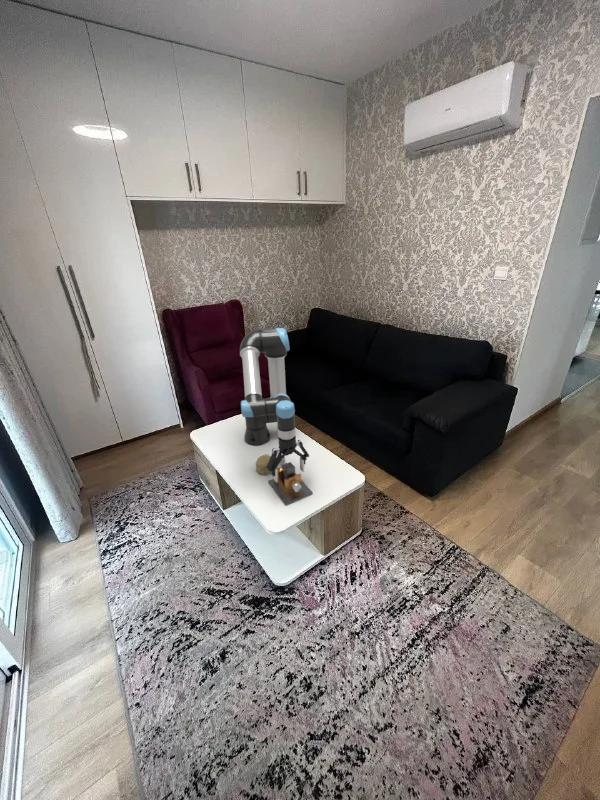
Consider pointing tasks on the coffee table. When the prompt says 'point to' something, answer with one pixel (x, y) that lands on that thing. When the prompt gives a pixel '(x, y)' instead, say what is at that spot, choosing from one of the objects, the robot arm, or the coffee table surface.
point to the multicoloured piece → (289, 486)
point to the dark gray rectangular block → (288, 470)
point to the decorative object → (263, 464)
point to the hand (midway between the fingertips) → (289, 475)
